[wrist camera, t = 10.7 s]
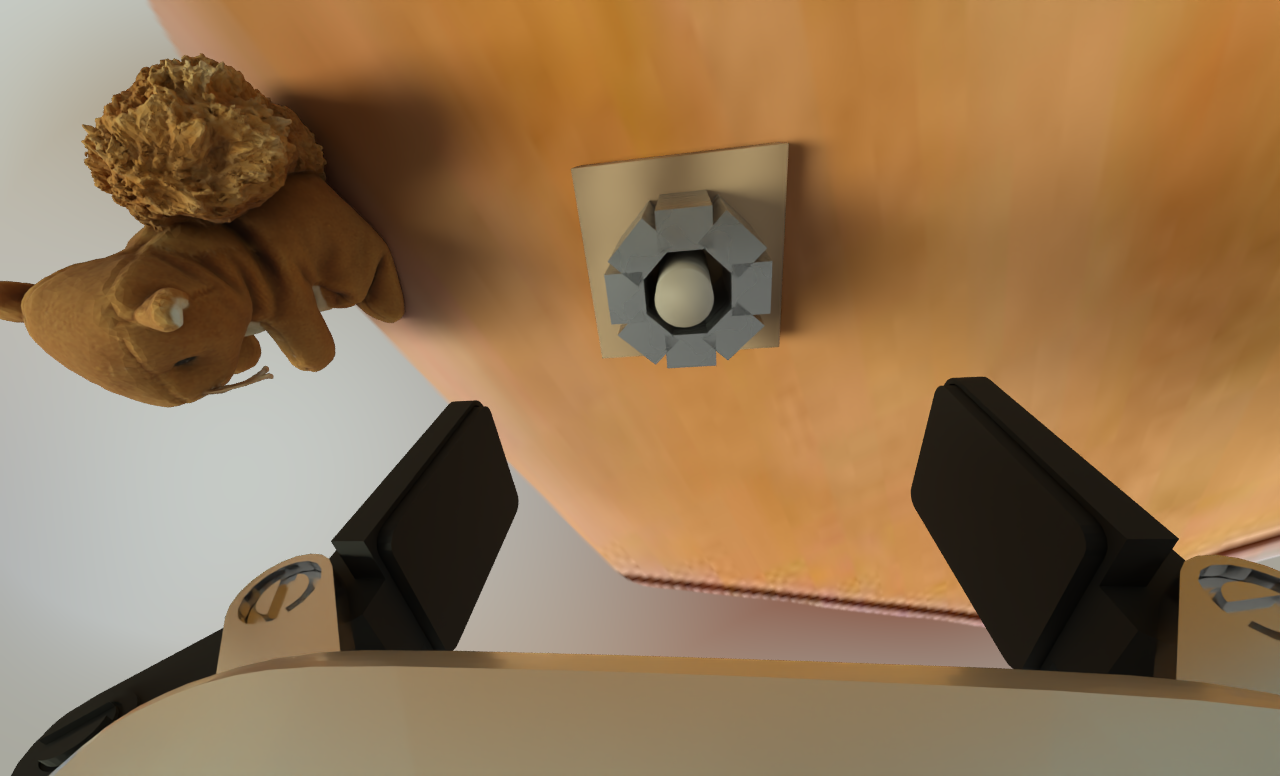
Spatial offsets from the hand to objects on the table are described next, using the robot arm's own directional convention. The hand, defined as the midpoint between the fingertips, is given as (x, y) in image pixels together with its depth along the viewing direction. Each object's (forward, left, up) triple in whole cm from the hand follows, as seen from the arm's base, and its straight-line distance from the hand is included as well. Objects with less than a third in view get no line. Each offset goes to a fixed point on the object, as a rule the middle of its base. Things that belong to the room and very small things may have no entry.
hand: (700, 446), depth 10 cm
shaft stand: (0, 0, -17) cm, 17 cm away
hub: (0, 0, -15) cm, 15 cm away
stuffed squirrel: (+21, -4, -18) cm, 28 cm away
